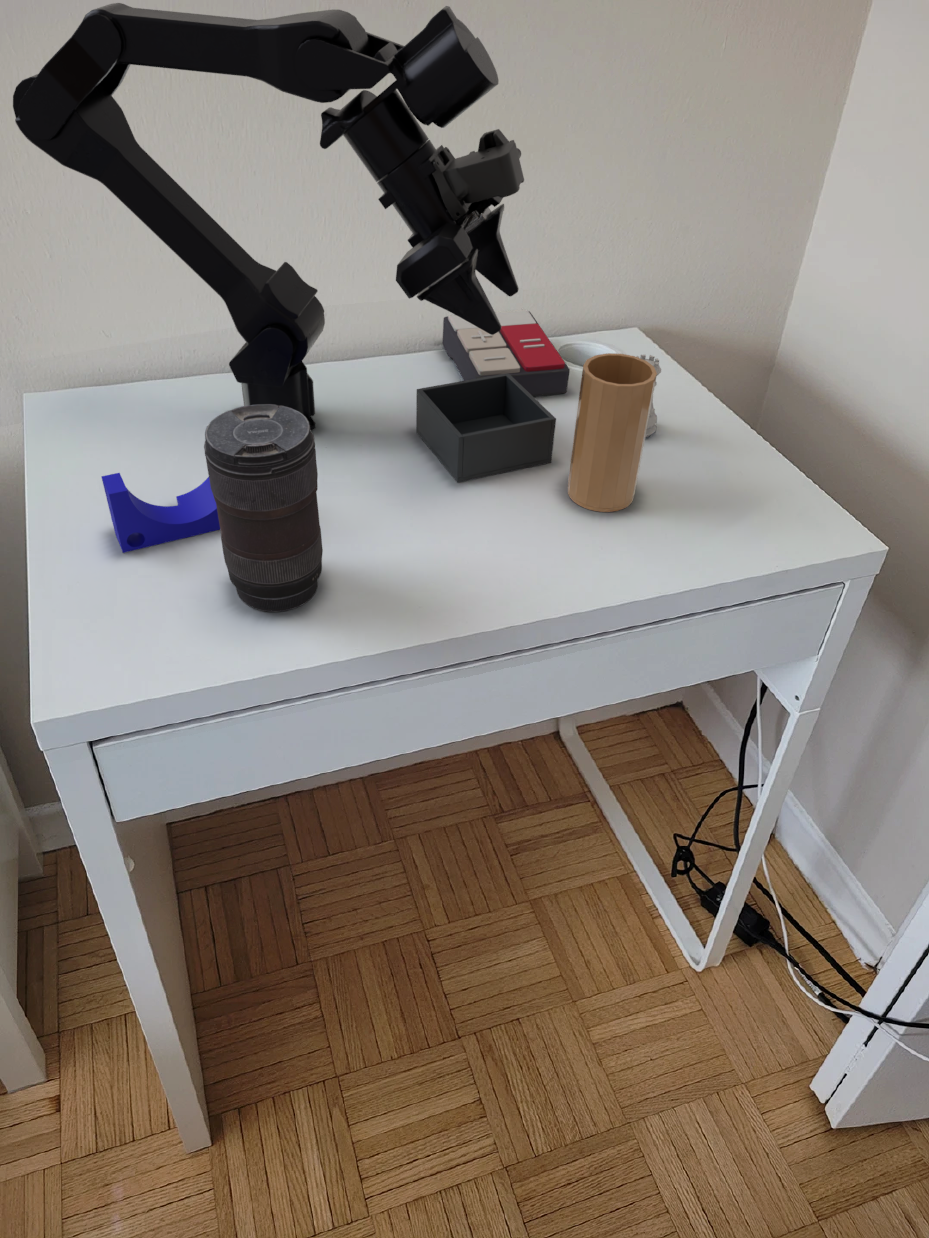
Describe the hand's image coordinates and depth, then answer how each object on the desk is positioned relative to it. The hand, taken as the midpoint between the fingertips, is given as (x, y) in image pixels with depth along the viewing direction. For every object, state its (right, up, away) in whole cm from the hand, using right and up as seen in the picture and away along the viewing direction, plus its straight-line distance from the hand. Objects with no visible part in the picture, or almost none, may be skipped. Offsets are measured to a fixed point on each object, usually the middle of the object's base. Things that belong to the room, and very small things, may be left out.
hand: (506, 312), depth 88 cm
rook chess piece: (+14, -8, +14) cm, 22 cm away
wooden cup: (+9, -16, +4) cm, 19 cm away
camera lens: (-20, -26, -9) cm, 34 cm away
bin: (-2, -11, +10) cm, 15 cm away
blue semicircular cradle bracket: (-29, -20, -2) cm, 35 cm away
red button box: (+1, +1, +24) cm, 24 cm away
